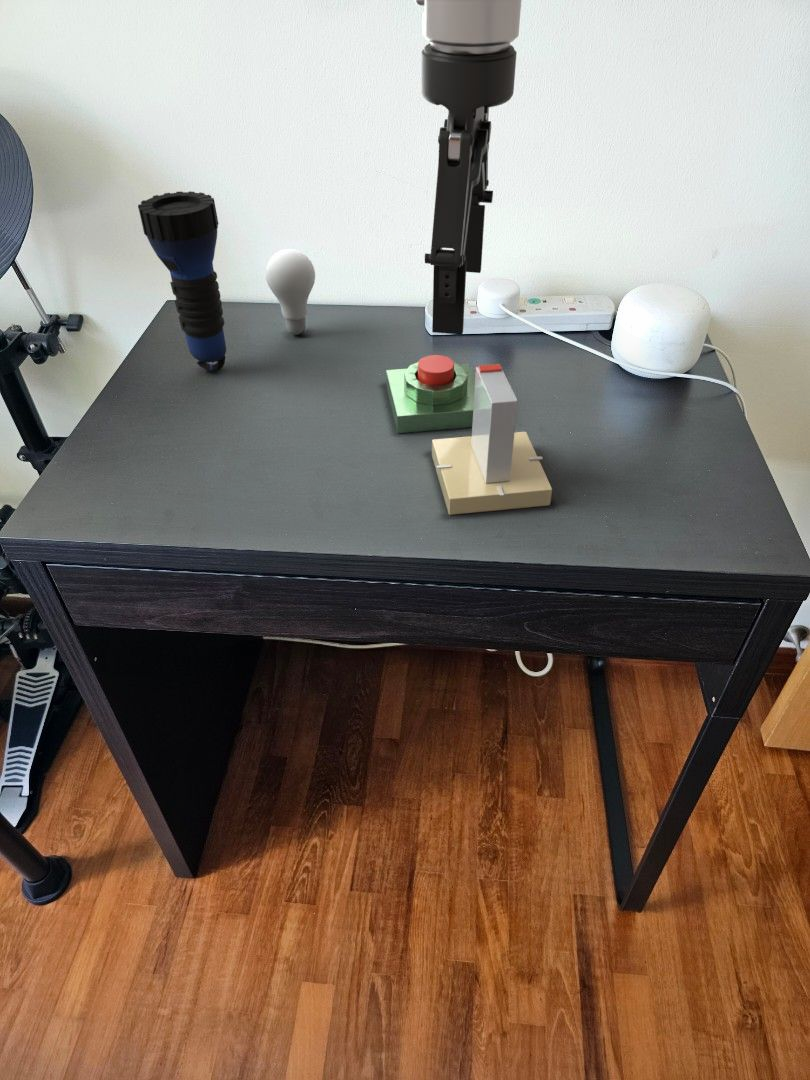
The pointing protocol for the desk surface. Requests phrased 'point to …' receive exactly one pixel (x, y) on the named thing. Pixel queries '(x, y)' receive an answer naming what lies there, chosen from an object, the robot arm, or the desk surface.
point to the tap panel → (468, 484)
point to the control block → (431, 400)
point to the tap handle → (493, 423)
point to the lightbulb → (291, 285)
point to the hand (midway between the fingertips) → (458, 299)
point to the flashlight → (190, 267)
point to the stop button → (435, 370)
